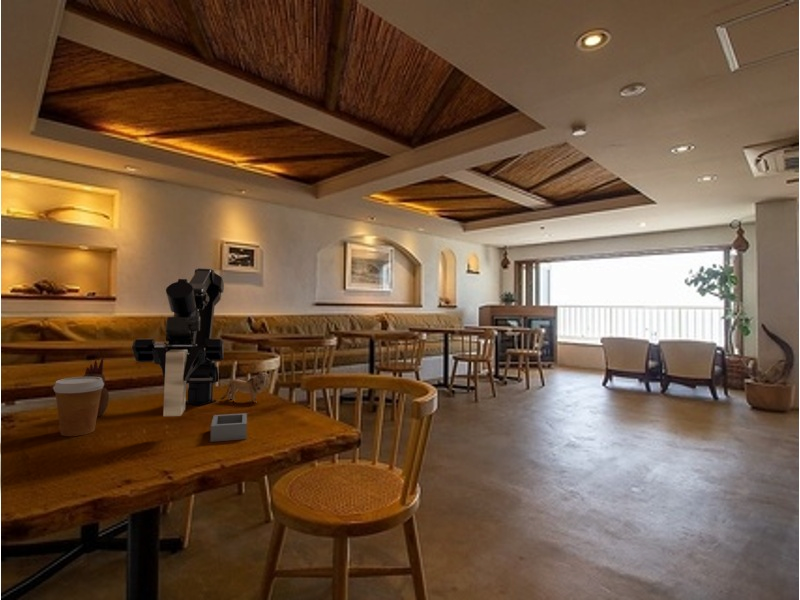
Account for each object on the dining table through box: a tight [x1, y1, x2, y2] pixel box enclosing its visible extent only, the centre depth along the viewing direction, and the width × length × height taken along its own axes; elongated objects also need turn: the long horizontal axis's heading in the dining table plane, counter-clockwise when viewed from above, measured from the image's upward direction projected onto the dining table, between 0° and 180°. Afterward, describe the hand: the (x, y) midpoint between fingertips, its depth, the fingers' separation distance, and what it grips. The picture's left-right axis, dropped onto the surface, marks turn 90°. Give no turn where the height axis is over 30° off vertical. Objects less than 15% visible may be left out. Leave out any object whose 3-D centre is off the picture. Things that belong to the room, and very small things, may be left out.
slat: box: [162, 350, 188, 417], centre depth 96 cm, size 5×4×14 cm
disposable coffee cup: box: [52, 376, 105, 437], centre depth 99 cm, size 10×10×12 cm
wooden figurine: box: [82, 358, 110, 418], centre depth 111 cm, size 7×6×15 cm
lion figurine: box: [220, 372, 271, 402], centre depth 132 cm, size 15×5×9 cm, turn 94°
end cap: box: [209, 412, 248, 442], centre depth 100 cm, size 9×8×4 cm
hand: (174, 380), depth 95 cm, fingers closed on slat, 3 cm apart
